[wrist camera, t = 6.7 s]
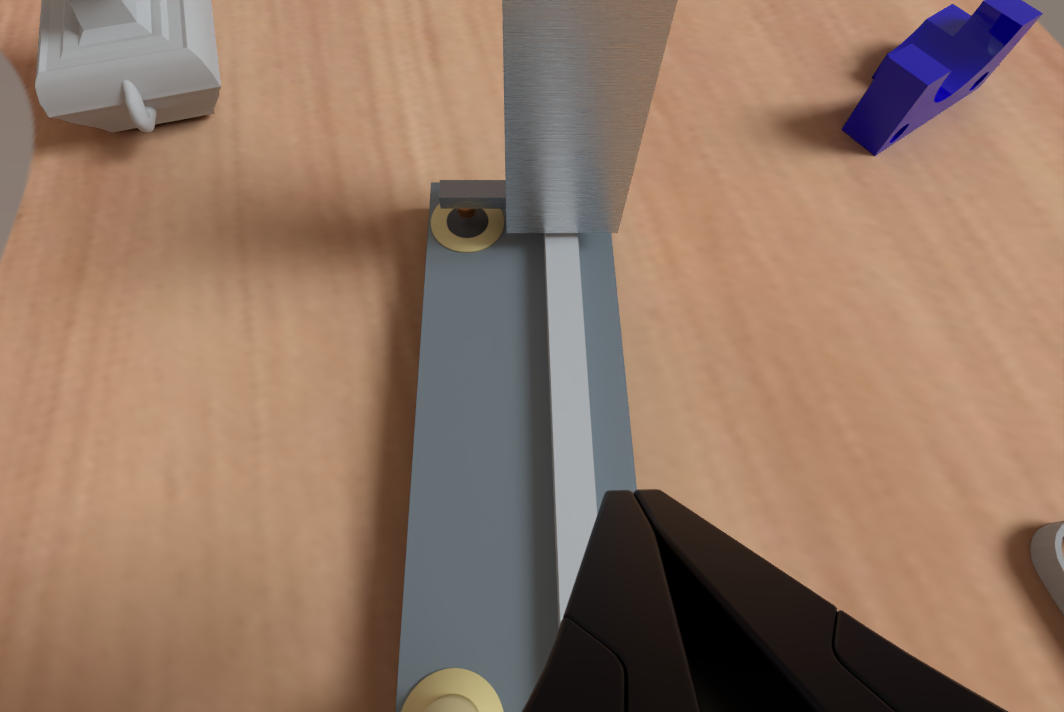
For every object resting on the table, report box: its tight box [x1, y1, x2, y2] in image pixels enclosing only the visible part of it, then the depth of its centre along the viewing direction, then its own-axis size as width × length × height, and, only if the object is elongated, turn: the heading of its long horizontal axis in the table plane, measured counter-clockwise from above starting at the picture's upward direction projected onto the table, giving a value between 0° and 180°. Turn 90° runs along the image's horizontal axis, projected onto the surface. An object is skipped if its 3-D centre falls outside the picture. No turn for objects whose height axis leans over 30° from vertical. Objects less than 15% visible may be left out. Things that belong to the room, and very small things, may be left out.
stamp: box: [35, 0, 221, 133], centre depth 23 cm, size 9×7×8 cm
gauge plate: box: [395, 183, 637, 712], centre depth 19 cm, size 20×7×3 cm, turn 1°
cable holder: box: [841, 0, 1042, 156], centre depth 27 cm, size 8×4×4 cm, turn 126°
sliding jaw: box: [439, 0, 677, 233], centre depth 16 cm, size 3×6×13 cm, turn 91°
